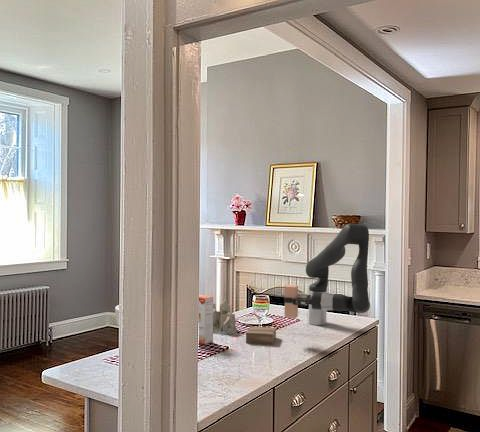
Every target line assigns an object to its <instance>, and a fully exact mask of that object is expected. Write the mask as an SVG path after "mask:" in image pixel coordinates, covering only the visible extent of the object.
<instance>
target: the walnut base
mask: <svg viewBox="0 0 480 432" xmlns="http://www.w3.org/2000/svg"><path fill="white" fill-rule="evenodd" d="M276 338H277V327H269V326H249V328H247V331H246V333H245V344H251V345H253V344H255V345H266V346H267V345H271V346H273V345H274V343H275V340H276Z"/></svg>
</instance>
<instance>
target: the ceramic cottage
mask: <svg viewBox="0 0 480 432" xmlns="http://www.w3.org/2000/svg"><path fill="white" fill-rule="evenodd" d="M231 311H232V310H231V304H230V303H228V300H227V299H226V298H224V300H223V302H222V303H220V305H219V311H218V310H217V309H216V303H215V302H213V334H217V335H234V334H236V333H237V326H236V323H237V322H236V321H237V320H236V315H235V313H232V312H231Z"/></svg>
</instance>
